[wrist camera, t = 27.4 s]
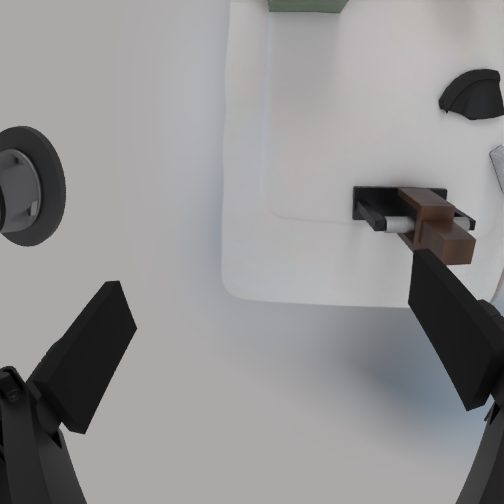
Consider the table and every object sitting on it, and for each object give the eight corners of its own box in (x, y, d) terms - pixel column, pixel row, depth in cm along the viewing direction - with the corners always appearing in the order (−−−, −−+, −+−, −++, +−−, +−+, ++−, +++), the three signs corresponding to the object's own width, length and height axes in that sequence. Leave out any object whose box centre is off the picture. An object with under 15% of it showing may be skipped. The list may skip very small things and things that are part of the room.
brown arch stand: (393, 230, 43) (434, 280, 31) (397, 187, 41) (445, 224, 28) (423, 230, 43) (469, 277, 30) (428, 188, 40) (481, 224, 27)
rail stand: (352, 218, 47) (372, 247, 37) (353, 186, 45) (375, 207, 35) (441, 218, 46) (475, 244, 36) (445, 188, 44) (481, 209, 34)
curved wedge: (431, 71, 37) (435, 70, 35) (493, 69, 34) (498, 69, 33) (442, 123, 40) (447, 124, 38) (502, 116, 37) (507, 117, 36)
